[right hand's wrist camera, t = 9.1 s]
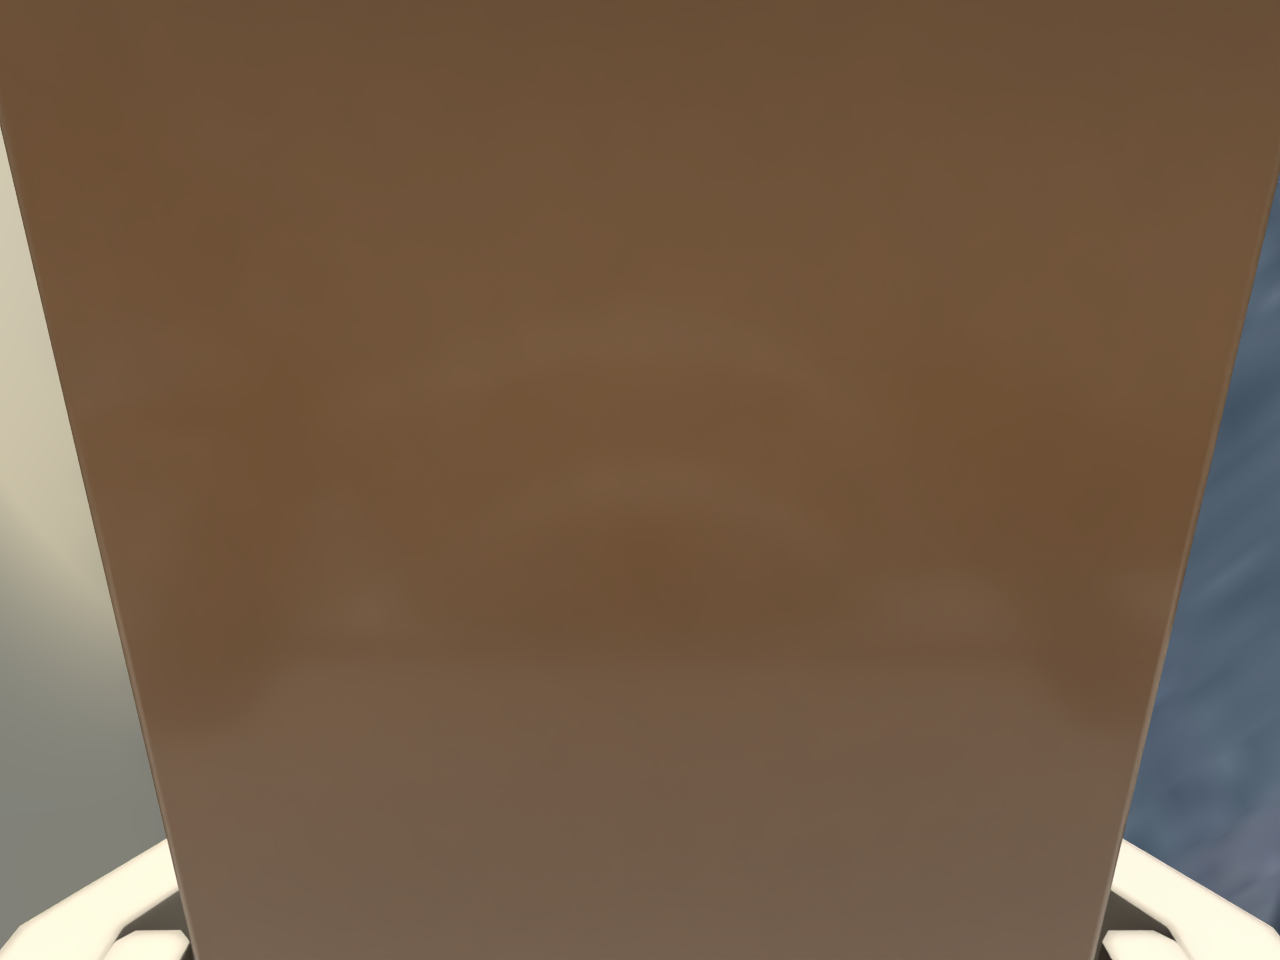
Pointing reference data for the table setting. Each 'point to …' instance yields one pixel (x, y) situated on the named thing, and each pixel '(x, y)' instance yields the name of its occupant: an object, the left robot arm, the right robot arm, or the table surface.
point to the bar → (644, 449)
